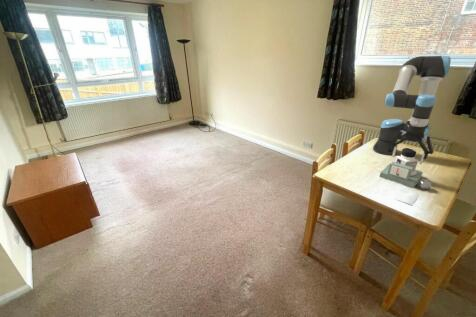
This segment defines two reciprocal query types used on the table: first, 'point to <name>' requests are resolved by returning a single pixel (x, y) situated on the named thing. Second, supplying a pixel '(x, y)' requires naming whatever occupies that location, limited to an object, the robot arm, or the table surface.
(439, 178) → the table surface
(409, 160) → the container
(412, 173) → the scale
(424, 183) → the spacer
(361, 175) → the table surface
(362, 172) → the table surface
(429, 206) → the table surface
